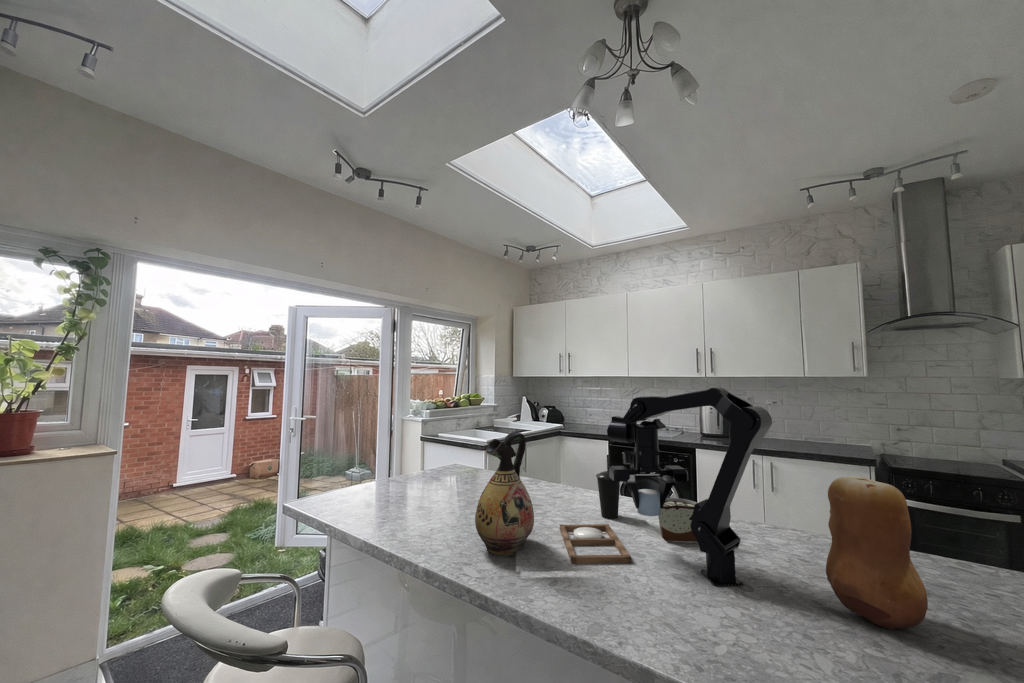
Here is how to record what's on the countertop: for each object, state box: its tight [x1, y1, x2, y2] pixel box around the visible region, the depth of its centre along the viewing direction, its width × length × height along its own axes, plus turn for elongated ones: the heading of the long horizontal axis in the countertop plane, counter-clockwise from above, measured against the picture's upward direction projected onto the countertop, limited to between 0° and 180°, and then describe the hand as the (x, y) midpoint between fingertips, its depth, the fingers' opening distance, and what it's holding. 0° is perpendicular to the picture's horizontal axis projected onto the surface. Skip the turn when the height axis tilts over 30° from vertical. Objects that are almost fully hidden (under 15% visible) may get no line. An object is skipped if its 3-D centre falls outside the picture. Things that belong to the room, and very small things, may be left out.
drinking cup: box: [595, 454, 621, 520], centre depth 130 cm, size 8×8×20 cm
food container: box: [657, 497, 698, 543], centre depth 115 cm, size 12×6×10 cm, turn 84°
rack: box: [559, 523, 632, 565], centre depth 107 cm, size 22×14×2 cm, turn 0°
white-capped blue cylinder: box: [636, 488, 661, 517], centre depth 104 cm, size 6×6×5 cm
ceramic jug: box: [474, 431, 535, 556], centre depth 109 cm, size 17×15×30 cm
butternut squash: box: [825, 475, 929, 630], centre depth 76 cm, size 14×13×25 cm
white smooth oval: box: [573, 527, 603, 539], centre depth 113 cm, size 8×8×1 cm
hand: (648, 508), depth 104 cm, fingers closed on white-capped blue cylinder, 6 cm apart
